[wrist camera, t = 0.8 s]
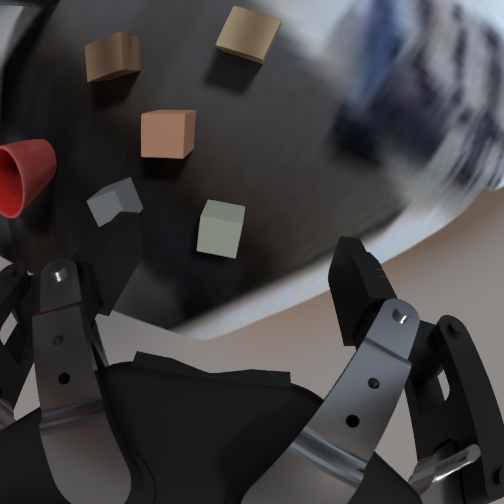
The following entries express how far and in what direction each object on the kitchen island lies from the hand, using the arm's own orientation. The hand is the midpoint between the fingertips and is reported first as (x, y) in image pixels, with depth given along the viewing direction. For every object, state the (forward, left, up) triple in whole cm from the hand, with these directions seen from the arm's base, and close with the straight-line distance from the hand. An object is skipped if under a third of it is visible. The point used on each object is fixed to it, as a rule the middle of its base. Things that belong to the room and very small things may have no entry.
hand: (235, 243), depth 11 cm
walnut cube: (-18, +10, -24) cm, 32 cm away
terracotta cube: (-10, 0, -24) cm, 26 cm away
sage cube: (-3, -12, -24) cm, 27 cm away
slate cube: (-18, -10, -24) cm, 32 cm away
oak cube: (-2, +12, -24) cm, 27 cm away
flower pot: (-34, -4, -24) cm, 42 cm away
